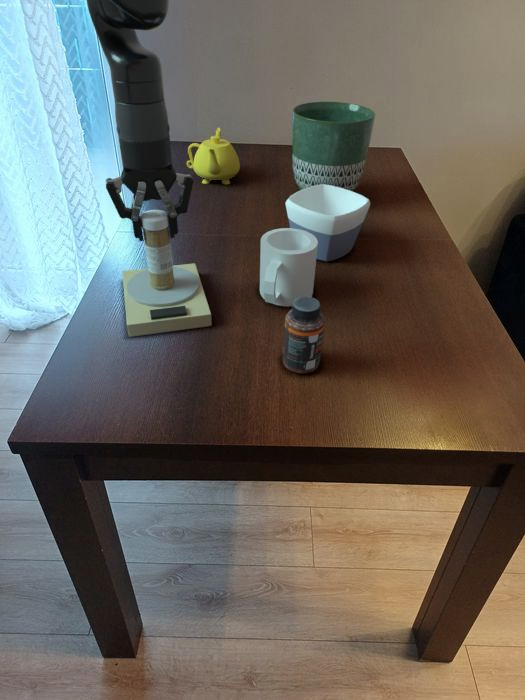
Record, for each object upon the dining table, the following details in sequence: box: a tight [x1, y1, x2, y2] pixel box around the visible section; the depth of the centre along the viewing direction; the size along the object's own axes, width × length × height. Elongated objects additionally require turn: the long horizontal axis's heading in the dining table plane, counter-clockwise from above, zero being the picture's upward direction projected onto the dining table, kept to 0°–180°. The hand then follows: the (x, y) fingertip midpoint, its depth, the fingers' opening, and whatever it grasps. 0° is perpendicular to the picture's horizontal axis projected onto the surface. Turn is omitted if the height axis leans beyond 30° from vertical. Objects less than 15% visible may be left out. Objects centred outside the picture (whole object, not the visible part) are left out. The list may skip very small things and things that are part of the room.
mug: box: [259, 227, 318, 307], centre depth 90 cm, size 14×10×11 cm
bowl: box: [285, 184, 371, 262], centre depth 105 cm, size 15×15×11 cm
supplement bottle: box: [282, 296, 326, 374], centre depth 75 cm, size 6×6×11 cm
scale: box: [121, 262, 213, 338], centre depth 90 cm, size 14×18×3 cm
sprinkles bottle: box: [139, 209, 175, 290], centre depth 86 cm, size 5×5×14 cm
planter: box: [291, 101, 376, 192], centre depth 124 cm, size 20×20×21 cm
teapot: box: [186, 126, 241, 185], centre depth 136 cm, size 20×15×12 cm
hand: (156, 237), depth 84 cm, fingers closed on sprinkles bottle, 4 cm apart
